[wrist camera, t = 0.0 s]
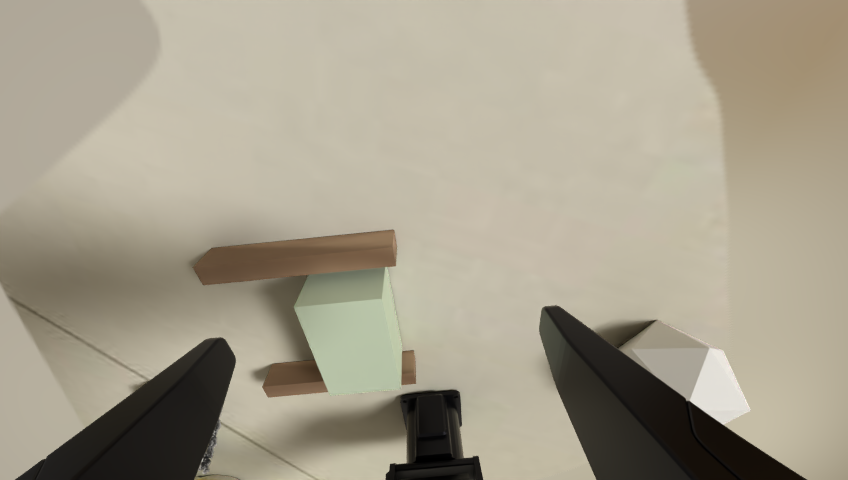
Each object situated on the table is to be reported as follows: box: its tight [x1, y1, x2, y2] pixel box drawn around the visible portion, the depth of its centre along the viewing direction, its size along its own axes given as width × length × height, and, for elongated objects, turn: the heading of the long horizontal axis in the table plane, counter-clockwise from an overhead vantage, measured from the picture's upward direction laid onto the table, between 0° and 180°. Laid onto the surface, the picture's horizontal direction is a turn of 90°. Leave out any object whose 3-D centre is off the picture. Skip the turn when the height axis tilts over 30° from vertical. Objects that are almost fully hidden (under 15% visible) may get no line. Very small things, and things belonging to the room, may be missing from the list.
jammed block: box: [294, 267, 402, 396], centre depth 26 cm, size 10×6×4 cm, turn 5°
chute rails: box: [193, 230, 416, 397], centre depth 27 cm, size 15×14×2 cm
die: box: [618, 320, 751, 424], centre depth 28 cm, size 8×9×10 cm
